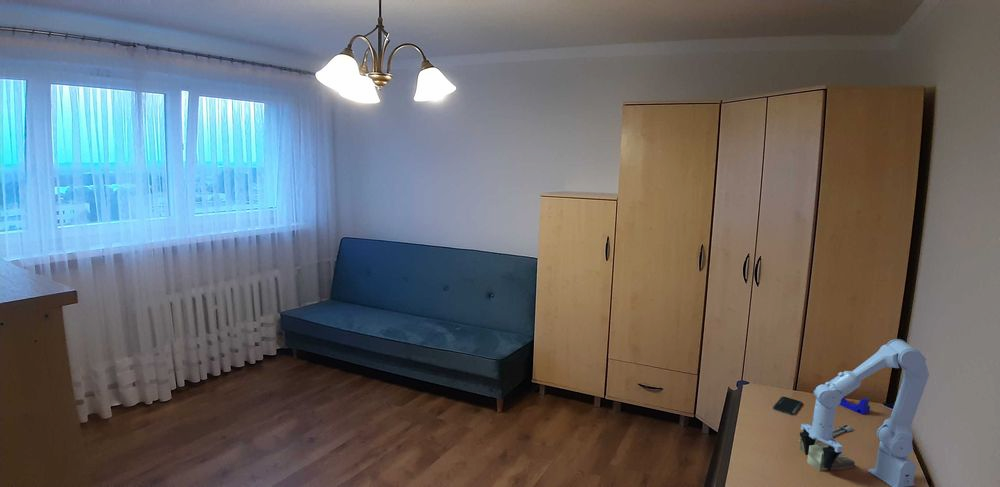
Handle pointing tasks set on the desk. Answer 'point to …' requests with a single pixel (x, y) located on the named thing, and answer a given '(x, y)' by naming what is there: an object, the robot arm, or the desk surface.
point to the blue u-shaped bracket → (857, 406)
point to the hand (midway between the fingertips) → (817, 460)
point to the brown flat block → (839, 462)
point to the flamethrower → (846, 429)
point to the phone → (787, 405)
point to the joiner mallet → (816, 457)
